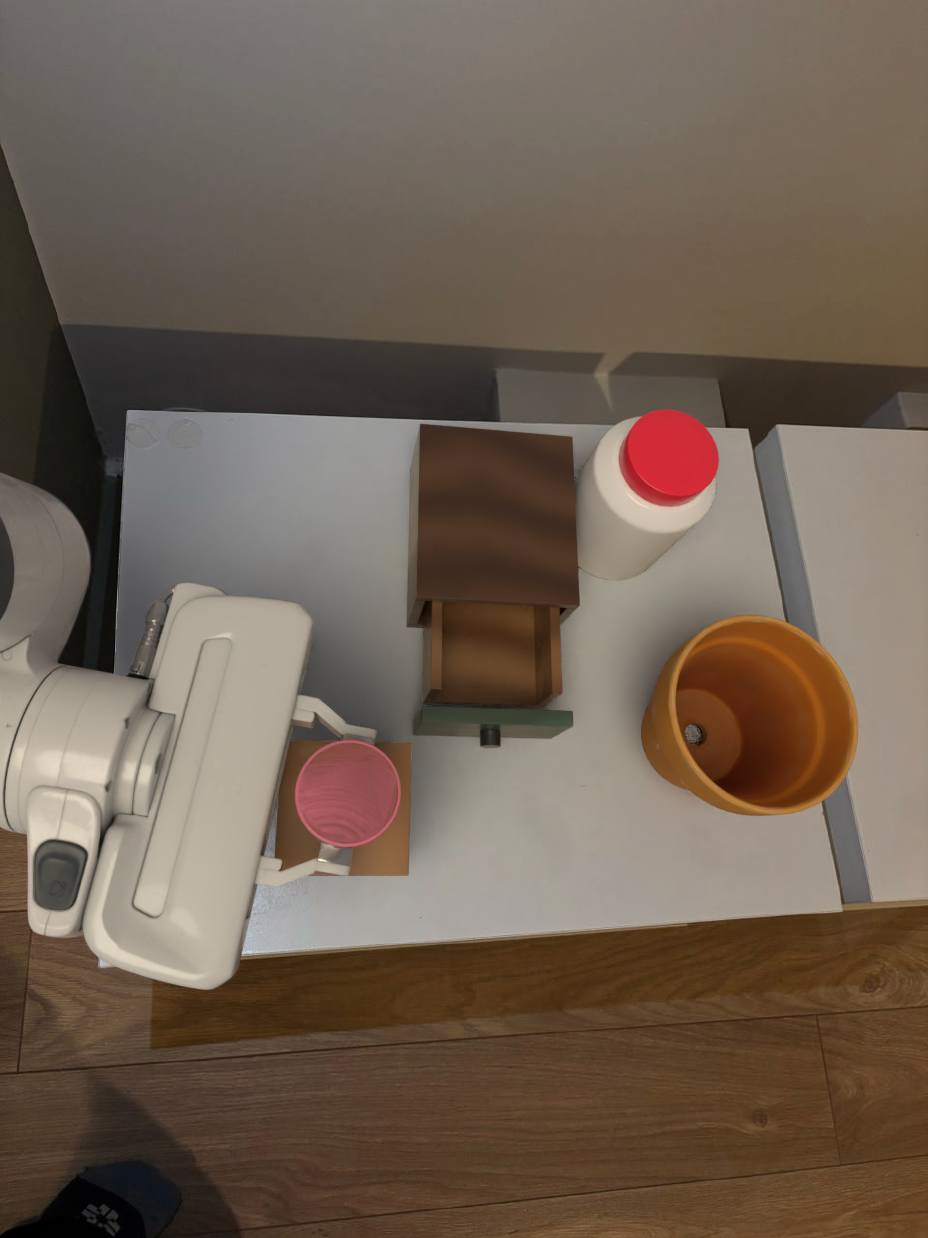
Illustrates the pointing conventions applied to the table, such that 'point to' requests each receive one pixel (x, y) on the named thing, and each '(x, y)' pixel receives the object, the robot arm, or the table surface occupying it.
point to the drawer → (491, 672)
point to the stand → (368, 859)
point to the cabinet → (492, 520)
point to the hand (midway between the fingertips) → (362, 803)
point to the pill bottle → (643, 492)
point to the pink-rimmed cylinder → (348, 793)
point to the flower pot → (753, 718)
